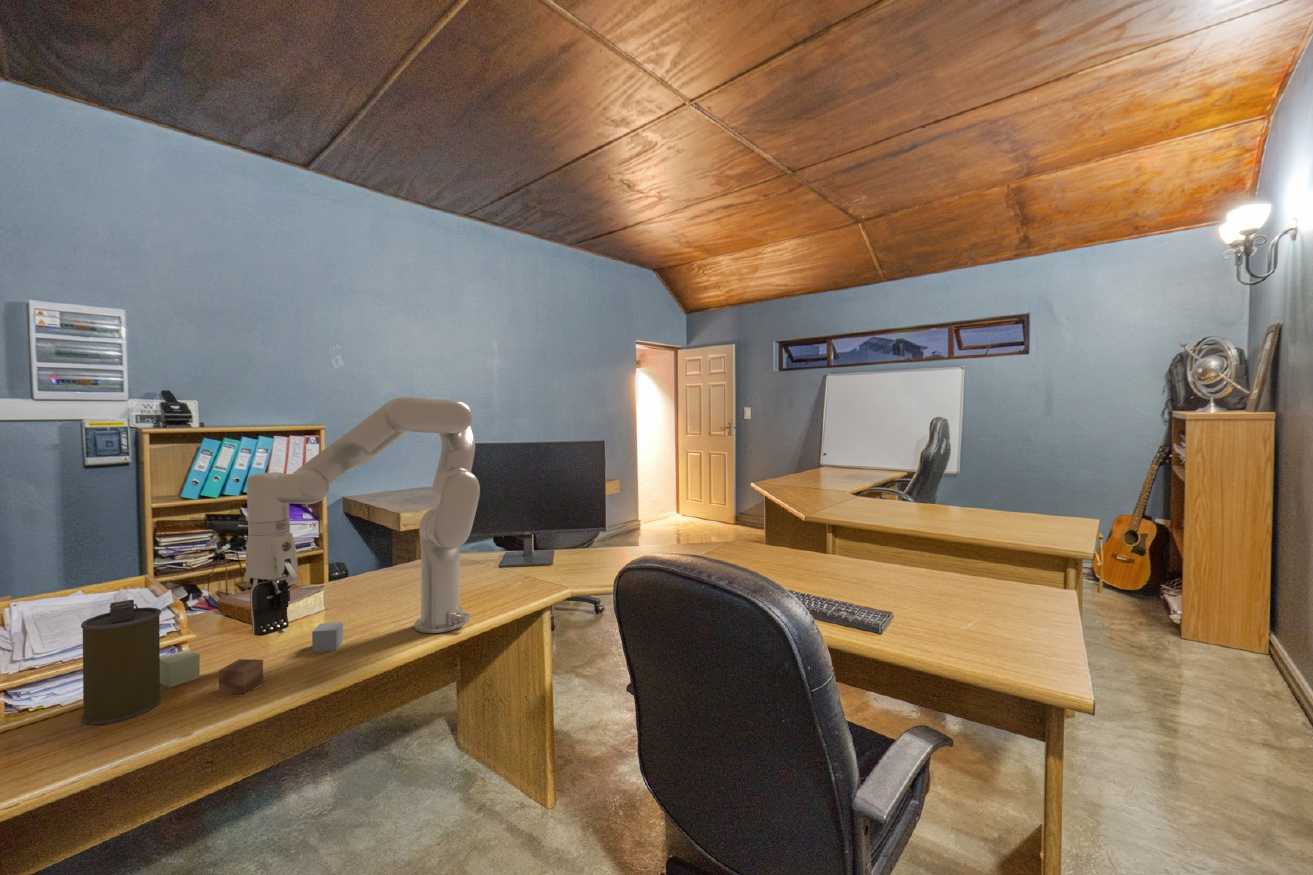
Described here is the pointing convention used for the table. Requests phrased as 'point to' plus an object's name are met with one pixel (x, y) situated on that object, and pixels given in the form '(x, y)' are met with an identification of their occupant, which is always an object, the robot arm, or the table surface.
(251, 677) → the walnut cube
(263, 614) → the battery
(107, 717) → the canister
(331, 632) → the slate cube
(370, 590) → the table surface
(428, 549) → the robot arm
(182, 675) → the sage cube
